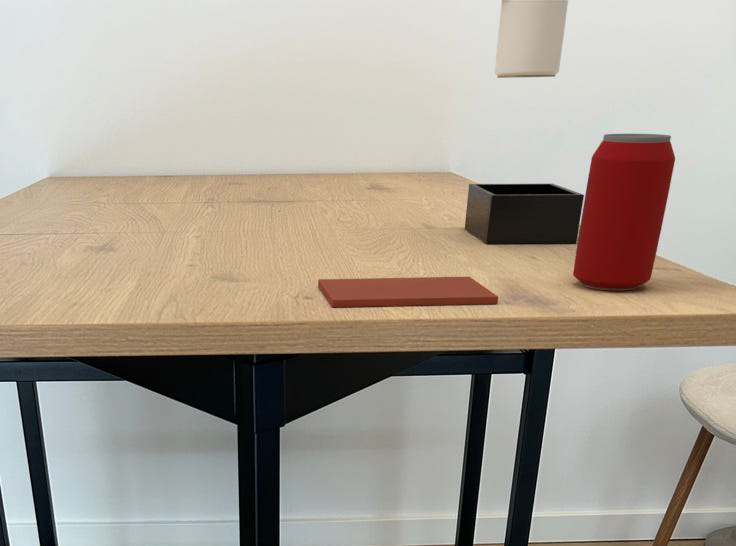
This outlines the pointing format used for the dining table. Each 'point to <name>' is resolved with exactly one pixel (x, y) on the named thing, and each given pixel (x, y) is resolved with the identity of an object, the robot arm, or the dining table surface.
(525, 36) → the can
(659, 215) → the beverage can
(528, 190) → the box
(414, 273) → the dining table surface
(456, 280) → the mat
